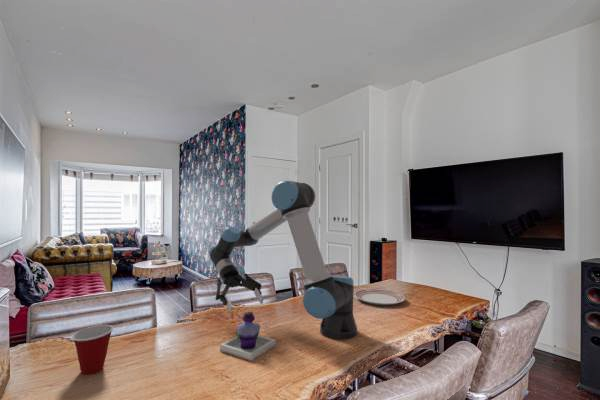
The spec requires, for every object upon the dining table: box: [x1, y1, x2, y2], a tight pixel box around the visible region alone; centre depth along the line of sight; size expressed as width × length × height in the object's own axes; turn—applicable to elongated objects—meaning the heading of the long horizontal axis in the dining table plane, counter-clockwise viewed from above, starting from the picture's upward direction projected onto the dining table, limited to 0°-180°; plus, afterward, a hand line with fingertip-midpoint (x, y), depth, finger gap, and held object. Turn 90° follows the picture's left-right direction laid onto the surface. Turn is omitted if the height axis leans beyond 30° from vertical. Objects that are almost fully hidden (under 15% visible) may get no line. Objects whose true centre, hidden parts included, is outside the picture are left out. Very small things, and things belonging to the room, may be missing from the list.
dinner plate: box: [354, 288, 406, 306], centre depth 179 cm, size 27×27×3 cm
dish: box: [219, 334, 277, 362], centre depth 115 cm, size 14×14×2 cm
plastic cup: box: [70, 324, 114, 376], centre depth 98 cm, size 11×11×12 cm
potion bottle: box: [236, 311, 261, 349], centre depth 115 cm, size 9×9×12 cm
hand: (247, 305), depth 127 cm, fingers open, 13 cm apart
